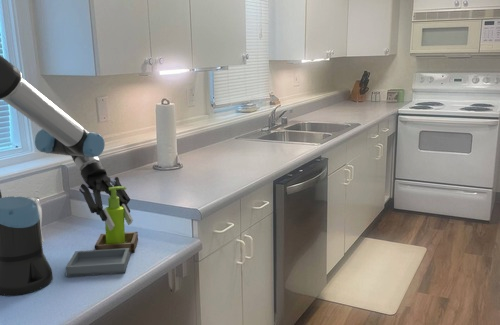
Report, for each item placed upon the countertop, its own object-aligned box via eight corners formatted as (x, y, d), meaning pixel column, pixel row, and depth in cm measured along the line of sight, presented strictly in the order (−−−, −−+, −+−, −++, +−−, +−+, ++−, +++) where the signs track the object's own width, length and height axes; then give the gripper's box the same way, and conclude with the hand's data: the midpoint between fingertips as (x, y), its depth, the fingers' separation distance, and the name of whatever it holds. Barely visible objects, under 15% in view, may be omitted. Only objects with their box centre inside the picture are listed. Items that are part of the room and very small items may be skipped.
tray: (66, 277, 138) (65, 267, 137) (76, 260, 150) (75, 251, 149) (124, 273, 140) (124, 263, 139) (129, 257, 151) (129, 247, 151)
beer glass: (24, 240, 168) (19, 197, 165) (46, 237, 170) (41, 195, 167) (21, 247, 162) (16, 203, 159) (44, 244, 164) (39, 201, 161)
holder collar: (95, 255, 153) (94, 246, 153) (101, 242, 164) (100, 234, 164) (134, 252, 155) (133, 243, 154) (138, 240, 166) (137, 231, 165)
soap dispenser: (129, 248, 158) (127, 188, 154) (107, 251, 156) (104, 189, 152) (127, 243, 163) (124, 184, 160) (105, 245, 161) (102, 185, 157)
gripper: (112, 169, 172) (142, 224, 164) (60, 179, 159) (90, 239, 151) (119, 156, 167) (151, 211, 160) (66, 166, 154) (98, 226, 146)
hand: (121, 225), depth 155 cm, fingers closed on soap dispenser, 6 cm apart
